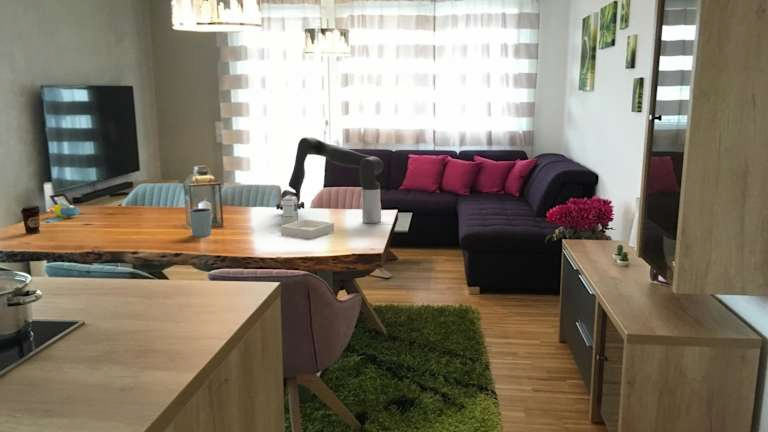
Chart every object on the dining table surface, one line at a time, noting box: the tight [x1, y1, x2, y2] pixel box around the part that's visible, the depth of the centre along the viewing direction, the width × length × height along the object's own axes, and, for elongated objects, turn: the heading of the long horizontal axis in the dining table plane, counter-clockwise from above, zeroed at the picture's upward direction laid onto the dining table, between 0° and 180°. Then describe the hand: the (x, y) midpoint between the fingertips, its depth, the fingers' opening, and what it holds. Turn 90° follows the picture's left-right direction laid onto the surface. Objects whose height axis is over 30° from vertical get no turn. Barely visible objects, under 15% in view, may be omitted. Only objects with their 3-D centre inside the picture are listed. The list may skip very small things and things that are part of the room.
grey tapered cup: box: [188, 207, 212, 238], centre depth 306 cm, size 10×10×12 cm
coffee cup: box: [20, 205, 41, 235], centre depth 314 cm, size 9×8×13 cm
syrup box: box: [282, 196, 299, 225], centre depth 324 cm, size 6×6×14 cm
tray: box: [280, 218, 335, 239], centre depth 309 cm, size 18×18×4 cm
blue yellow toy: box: [41, 202, 83, 224], centre depth 352 cm, size 28×9×15 cm
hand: (290, 208), depth 326 cm, fingers open, 8 cm apart
